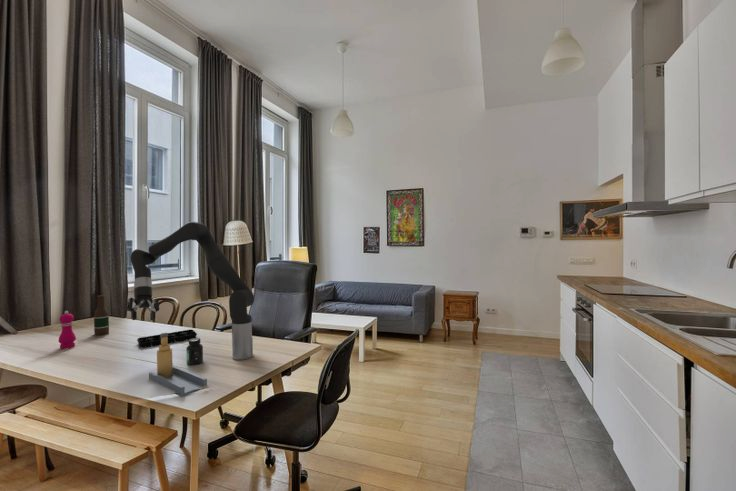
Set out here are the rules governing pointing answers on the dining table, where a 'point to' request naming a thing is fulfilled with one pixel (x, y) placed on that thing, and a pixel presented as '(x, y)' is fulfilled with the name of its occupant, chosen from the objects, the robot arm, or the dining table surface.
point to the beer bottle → (101, 318)
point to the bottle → (164, 358)
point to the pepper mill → (67, 331)
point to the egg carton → (176, 336)
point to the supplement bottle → (194, 352)
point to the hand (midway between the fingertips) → (143, 319)
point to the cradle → (180, 381)
